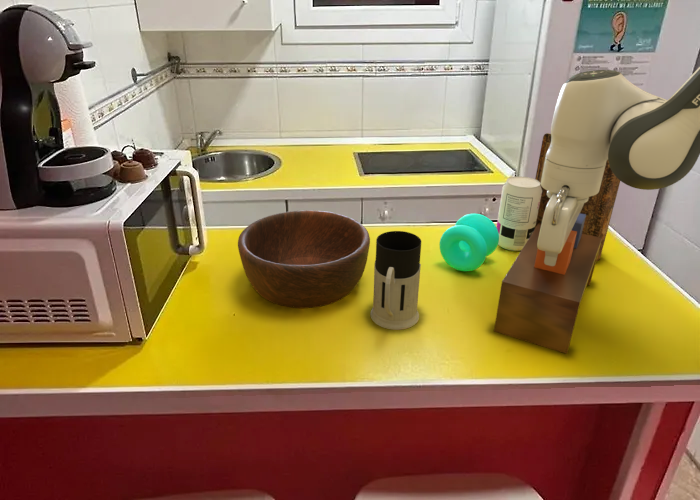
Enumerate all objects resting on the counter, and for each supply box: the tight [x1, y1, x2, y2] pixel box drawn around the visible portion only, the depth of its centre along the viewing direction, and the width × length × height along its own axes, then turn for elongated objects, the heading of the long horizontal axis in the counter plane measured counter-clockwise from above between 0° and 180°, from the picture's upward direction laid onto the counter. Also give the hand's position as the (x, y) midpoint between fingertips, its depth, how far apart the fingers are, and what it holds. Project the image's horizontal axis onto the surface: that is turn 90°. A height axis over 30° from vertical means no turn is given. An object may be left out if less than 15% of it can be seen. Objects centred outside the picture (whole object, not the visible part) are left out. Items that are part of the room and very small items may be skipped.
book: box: [534, 132, 621, 263], centre depth 112 cm, size 16×6×25 cm, turn 41°
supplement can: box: [496, 175, 542, 252], centre depth 115 cm, size 8×8×15 cm
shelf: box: [493, 224, 602, 355], centre depth 94 cm, size 12×26×10 cm, turn 150°
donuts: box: [439, 212, 499, 272], centre depth 108 cm, size 10×10×10 cm
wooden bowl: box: [237, 209, 371, 309], centre depth 101 cm, size 25×25×10 cm
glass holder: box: [369, 230, 422, 331], centre depth 87 cm, size 9×14×15 cm, turn 166°
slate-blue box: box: [572, 213, 586, 249], centre depth 97 cm, size 5×5×5 cm
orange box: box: [534, 230, 577, 275], centre depth 88 cm, size 5×5×6 cm
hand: (554, 254), depth 89 cm, fingers open, 6 cm apart
